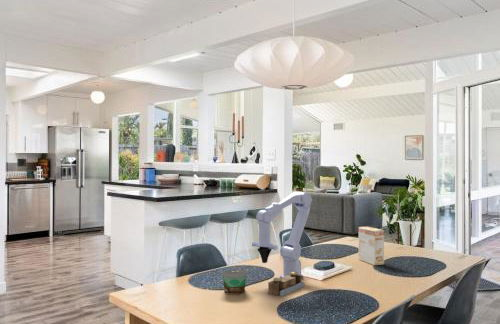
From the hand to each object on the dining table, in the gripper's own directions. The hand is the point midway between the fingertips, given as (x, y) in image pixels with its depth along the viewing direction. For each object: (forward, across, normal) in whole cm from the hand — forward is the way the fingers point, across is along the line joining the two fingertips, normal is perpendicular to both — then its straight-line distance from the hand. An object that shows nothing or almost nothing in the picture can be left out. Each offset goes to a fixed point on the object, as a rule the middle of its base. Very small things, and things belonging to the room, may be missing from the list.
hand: (264, 262), depth 210 cm
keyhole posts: (+10, +14, -2) cm, 17 cm away
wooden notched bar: (+10, +14, -2) cm, 17 cm away
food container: (+10, -1, -20) cm, 22 cm away
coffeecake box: (+10, +23, +70) cm, 74 cm away
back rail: (+10, +18, -2) cm, 20 cm away
